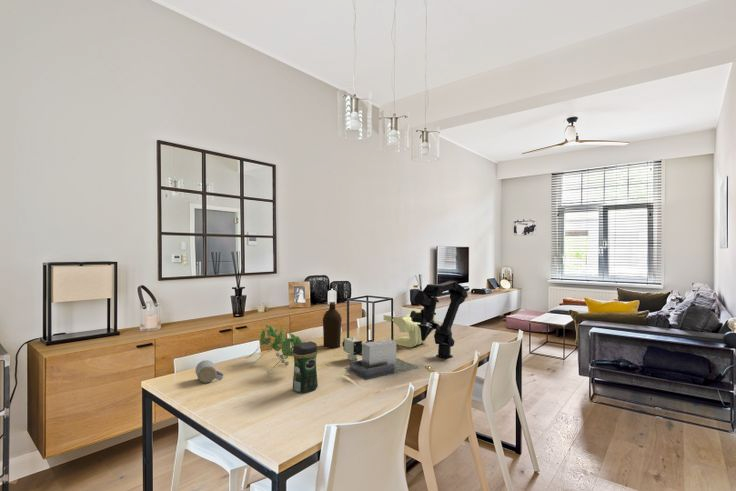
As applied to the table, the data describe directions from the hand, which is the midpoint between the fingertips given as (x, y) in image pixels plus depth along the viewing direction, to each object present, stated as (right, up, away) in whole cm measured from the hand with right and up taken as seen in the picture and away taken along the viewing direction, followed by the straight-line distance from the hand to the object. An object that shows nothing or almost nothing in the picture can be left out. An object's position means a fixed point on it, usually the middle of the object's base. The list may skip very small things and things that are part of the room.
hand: (422, 340), depth 178 cm
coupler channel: (-20, -12, -8) cm, 24 cm away
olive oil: (-47, -12, +31) cm, 58 cm away
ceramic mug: (-94, -11, -22) cm, 97 cm away
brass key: (+2, -12, -9) cm, 15 cm away
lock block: (-21, -11, -9) cm, 25 cm away
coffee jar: (-52, -11, -31) cm, 62 cm away
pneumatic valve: (-34, -12, +4) cm, 36 cm away
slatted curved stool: (-2, -12, +39) cm, 41 cm away
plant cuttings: (-70, -11, -6) cm, 71 cm away
